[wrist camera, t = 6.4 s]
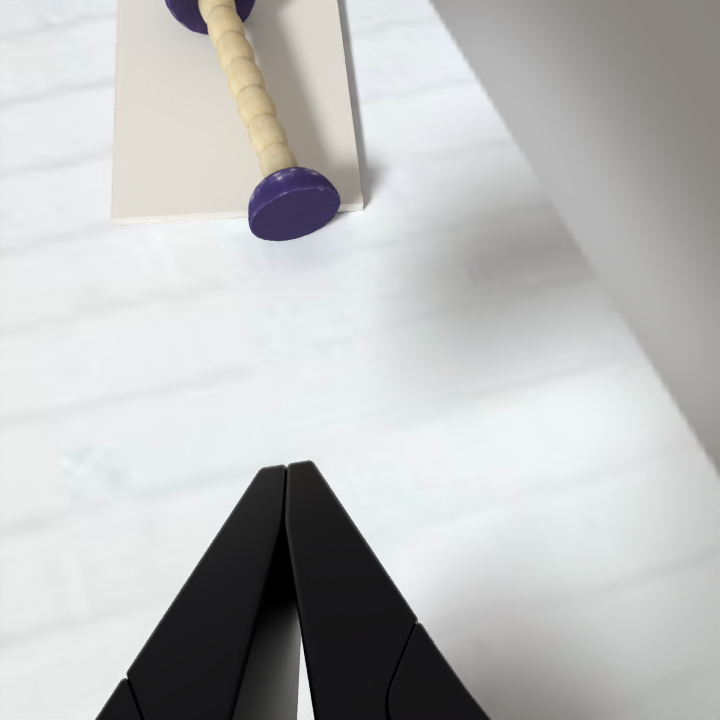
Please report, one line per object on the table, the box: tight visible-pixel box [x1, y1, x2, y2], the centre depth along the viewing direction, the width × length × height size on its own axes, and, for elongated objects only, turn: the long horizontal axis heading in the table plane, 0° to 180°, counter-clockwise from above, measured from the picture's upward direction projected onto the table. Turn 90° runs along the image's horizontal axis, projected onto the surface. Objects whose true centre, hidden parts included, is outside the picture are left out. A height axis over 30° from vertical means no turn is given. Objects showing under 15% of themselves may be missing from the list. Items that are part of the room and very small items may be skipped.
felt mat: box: [111, 0, 363, 226], centre depth 24 cm, size 16×12×1 cm
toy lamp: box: [165, 0, 341, 241], centre depth 22 cm, size 5×5×17 cm
